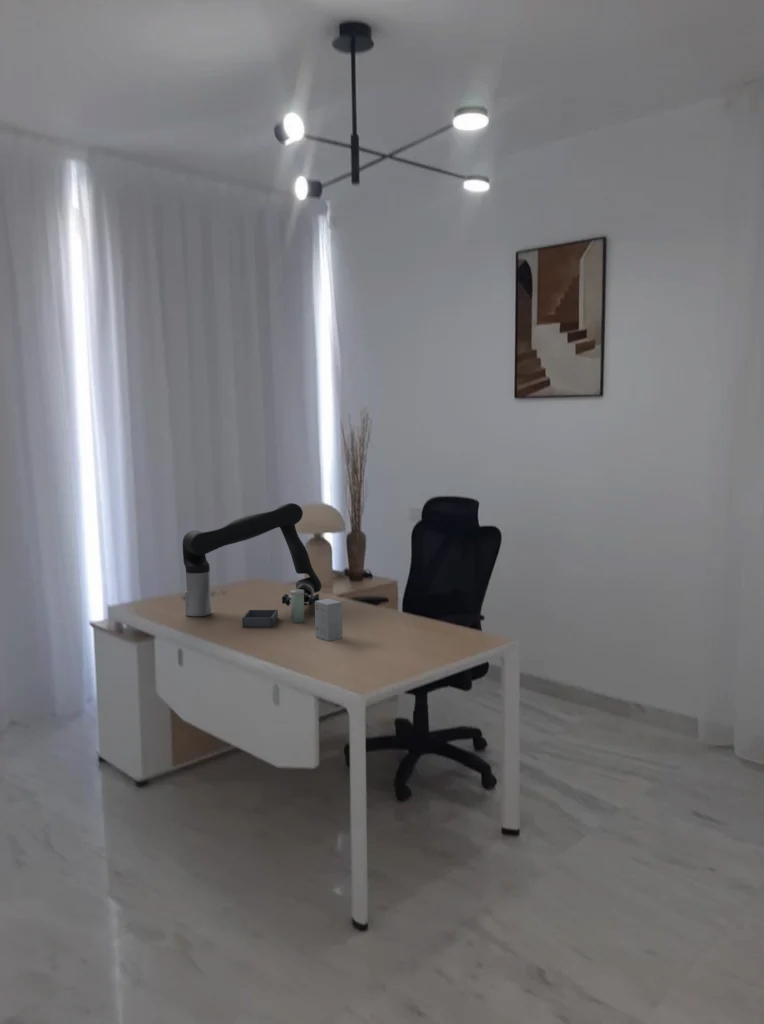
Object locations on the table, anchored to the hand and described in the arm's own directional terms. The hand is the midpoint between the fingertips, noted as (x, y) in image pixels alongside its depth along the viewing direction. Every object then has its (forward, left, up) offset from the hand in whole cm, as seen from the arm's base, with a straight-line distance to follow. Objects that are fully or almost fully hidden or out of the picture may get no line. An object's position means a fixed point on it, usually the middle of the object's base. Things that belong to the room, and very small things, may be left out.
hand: (298, 603), depth 309 cm
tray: (-14, -5, -7) cm, 16 cm away
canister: (0, -3, -7) cm, 7 cm away
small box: (+14, -26, -7) cm, 30 cm away
